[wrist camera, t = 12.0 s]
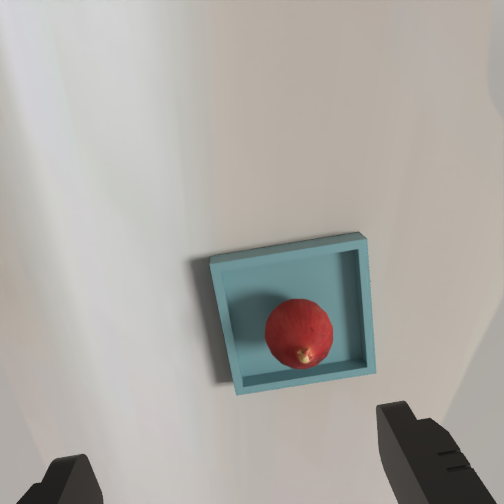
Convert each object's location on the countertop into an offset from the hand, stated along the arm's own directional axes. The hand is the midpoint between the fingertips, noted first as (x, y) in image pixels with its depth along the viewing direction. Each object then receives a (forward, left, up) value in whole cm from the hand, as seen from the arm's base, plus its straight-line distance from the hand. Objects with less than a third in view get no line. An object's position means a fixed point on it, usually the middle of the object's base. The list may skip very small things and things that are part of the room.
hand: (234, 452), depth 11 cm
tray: (+9, +4, -26) cm, 28 cm away
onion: (+9, +4, -25) cm, 27 cm away
